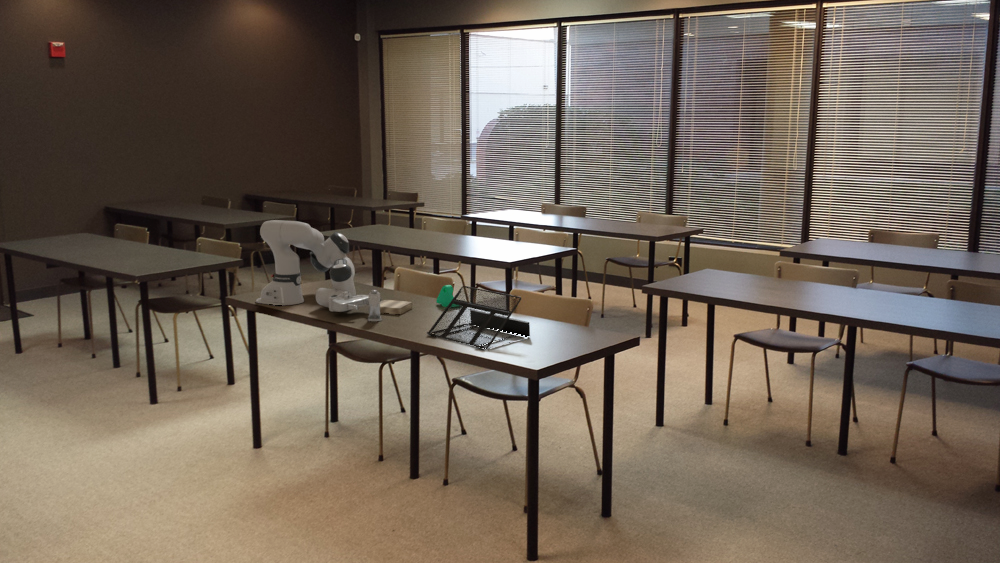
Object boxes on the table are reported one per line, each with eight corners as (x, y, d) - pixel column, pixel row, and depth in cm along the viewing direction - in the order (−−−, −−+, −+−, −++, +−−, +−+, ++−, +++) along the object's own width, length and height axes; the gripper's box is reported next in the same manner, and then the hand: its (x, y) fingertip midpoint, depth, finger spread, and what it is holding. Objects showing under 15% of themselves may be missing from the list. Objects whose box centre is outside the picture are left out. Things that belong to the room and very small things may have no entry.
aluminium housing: (364, 320, 357) (364, 290, 355) (374, 317, 362) (374, 288, 360) (374, 322, 354) (374, 292, 351) (384, 320, 359) (384, 290, 356)
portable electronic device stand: (425, 336, 334) (424, 292, 330) (472, 325, 354) (472, 283, 351) (484, 352, 312) (485, 305, 309) (531, 339, 333) (532, 295, 329)
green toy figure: (465, 306, 387) (465, 285, 385) (453, 309, 382) (453, 287, 380) (448, 302, 395) (448, 281, 393) (436, 305, 390) (436, 283, 388)
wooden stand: (371, 312, 373) (371, 305, 372) (384, 305, 386) (384, 299, 385) (399, 314, 368) (399, 308, 368) (412, 308, 382) (412, 302, 381)
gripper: (360, 303, 379) (381, 308, 371) (326, 311, 362) (348, 317, 354) (359, 290, 377) (381, 294, 369) (326, 298, 361) (348, 302, 353)
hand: (365, 305), depth 362 cm, fingers open, 8 cm apart
